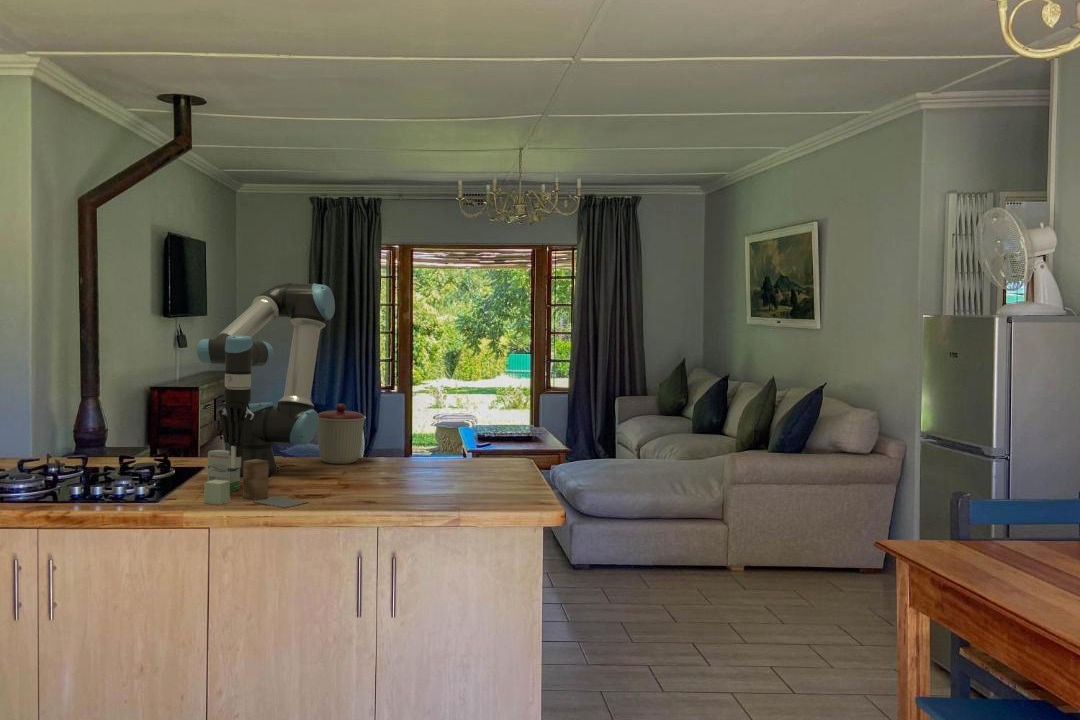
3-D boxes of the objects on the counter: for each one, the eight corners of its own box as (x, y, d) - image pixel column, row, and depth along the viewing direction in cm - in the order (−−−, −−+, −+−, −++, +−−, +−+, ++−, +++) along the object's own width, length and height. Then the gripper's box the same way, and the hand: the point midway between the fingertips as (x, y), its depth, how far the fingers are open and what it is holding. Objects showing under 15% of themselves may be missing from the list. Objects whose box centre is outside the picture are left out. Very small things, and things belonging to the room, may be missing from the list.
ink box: (240, 489, 312) (241, 451, 311) (230, 492, 307) (231, 453, 307) (216, 486, 315) (217, 448, 314) (206, 489, 310) (207, 450, 309)
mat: (253, 502, 294) (253, 501, 294) (277, 497, 303) (277, 496, 303) (284, 508, 289) (284, 507, 289) (308, 502, 297) (308, 501, 297)
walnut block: (242, 498, 300) (243, 461, 299) (255, 495, 304) (256, 458, 303) (255, 500, 297) (256, 462, 297) (267, 497, 302) (268, 460, 301)
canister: (339, 468, 356) (341, 407, 355) (302, 461, 366) (304, 402, 365) (375, 462, 371) (377, 404, 370) (338, 456, 381) (340, 399, 380)
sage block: (204, 503, 291) (204, 482, 291) (213, 500, 296) (214, 479, 296) (220, 505, 290) (220, 484, 290) (229, 501, 295) (230, 481, 294)
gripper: (212, 387, 302) (210, 466, 304) (244, 390, 296) (242, 471, 297) (230, 385, 309) (229, 463, 310) (263, 389, 303) (261, 468, 304)
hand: (235, 467), depth 304 cm, fingers closed
